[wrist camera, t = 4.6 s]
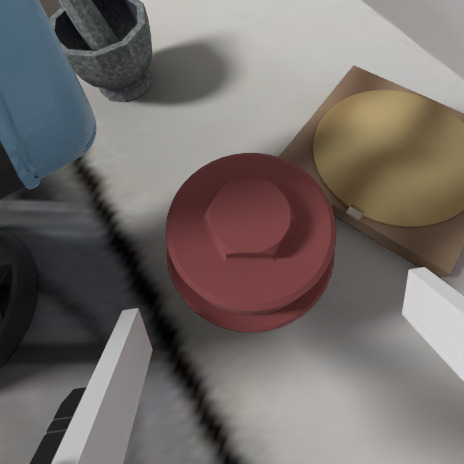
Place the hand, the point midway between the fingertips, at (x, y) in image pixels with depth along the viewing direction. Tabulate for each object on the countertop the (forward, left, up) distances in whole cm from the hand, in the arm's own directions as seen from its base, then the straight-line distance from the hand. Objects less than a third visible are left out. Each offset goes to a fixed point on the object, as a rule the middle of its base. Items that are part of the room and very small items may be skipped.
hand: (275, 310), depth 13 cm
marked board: (+1, +19, -10) cm, 22 cm away
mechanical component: (-3, +2, -10) cm, 11 cm away
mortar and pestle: (-29, +12, -10) cm, 33 cm away
